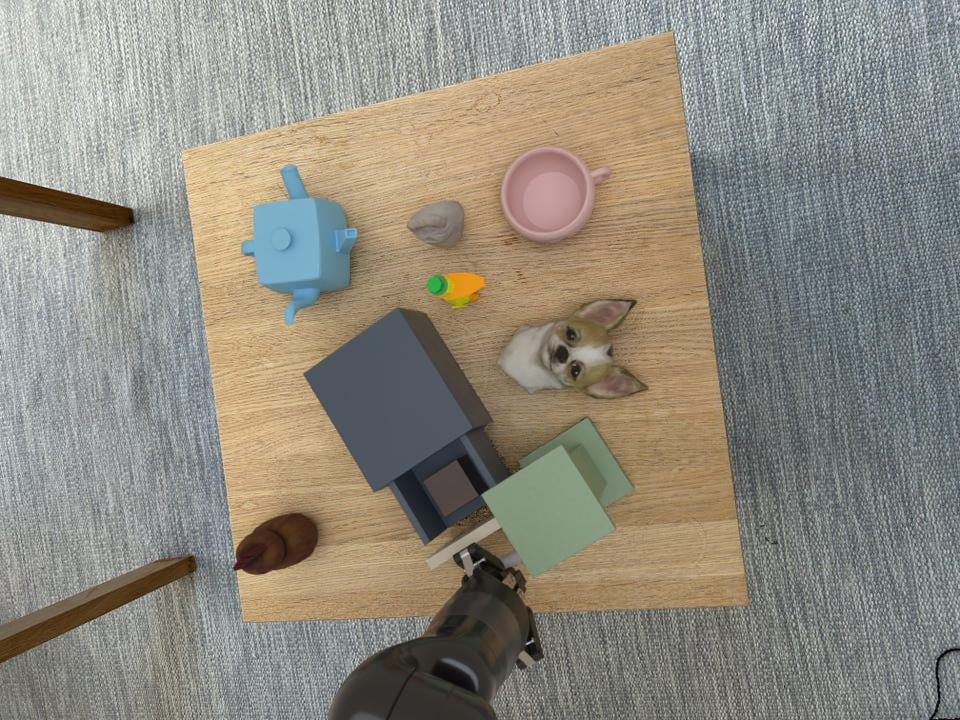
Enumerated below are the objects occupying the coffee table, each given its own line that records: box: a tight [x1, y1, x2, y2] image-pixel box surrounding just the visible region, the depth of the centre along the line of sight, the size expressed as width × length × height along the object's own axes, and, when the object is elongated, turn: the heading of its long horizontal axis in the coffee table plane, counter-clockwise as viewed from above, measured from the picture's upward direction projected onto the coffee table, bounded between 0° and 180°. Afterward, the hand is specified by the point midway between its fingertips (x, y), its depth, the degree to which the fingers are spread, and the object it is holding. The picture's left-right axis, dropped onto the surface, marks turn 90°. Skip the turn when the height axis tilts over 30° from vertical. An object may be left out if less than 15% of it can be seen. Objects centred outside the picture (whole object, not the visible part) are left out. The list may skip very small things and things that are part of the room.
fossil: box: [406, 200, 466, 249], centre depth 82 cm, size 6×4×10 cm, turn 123°
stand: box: [481, 416, 636, 579], centre depth 73 cm, size 9×9×22 cm
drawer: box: [387, 427, 523, 571], centre depth 82 cm, size 18×11×8 cm, turn 33°
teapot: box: [240, 164, 359, 327], centre depth 86 cm, size 18×14×10 cm
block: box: [423, 454, 488, 517], centre depth 83 cm, size 4×4×4 cm
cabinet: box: [302, 306, 494, 493], centre depth 83 cm, size 15×13×10 cm
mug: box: [499, 144, 613, 244], centre depth 81 cm, size 12×10×6 cm
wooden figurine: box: [232, 512, 319, 576], centre depth 84 cm, size 7×6×15 cm
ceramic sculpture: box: [496, 298, 650, 401], centre depth 80 cm, size 11×9×15 cm
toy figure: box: [426, 272, 486, 310], centre depth 81 cm, size 7×4×12 cm, turn 98°
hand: (515, 579), depth 81 cm, fingers closed
